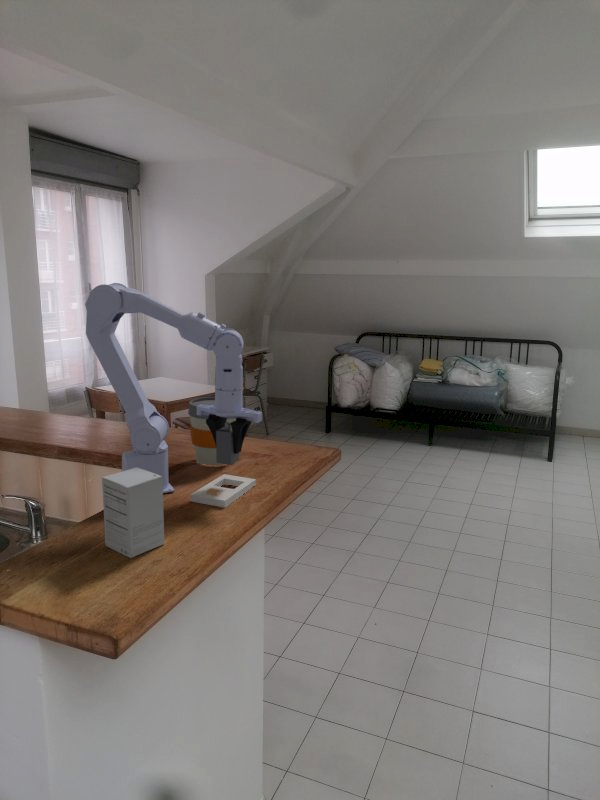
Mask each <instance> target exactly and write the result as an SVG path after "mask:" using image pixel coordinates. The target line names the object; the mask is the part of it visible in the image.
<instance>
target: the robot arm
mask: <svg viewBox="0 0 600 800" xmlns="http://www.w3.org/2000/svg"><path fill="white" fill-rule="evenodd" d="M84 306H85V310H86V318H85V319H86V321H85V335H86V338H87V340H88V342H89V344H90V346H91V348H92V350H93V351H94V353H95V356H96V358H97V360H98V361H99V363H100V365H101V367H102V369H103V371H104V373H105V375H106V377H107V379H108V380H109V382H110V384H111V386H112V388H113V390H114V392H115V395H116V396H117V398H118V400H119V402H120V405H121V406H122V407H123V410H124V411H125V420H126V421H125V422H126V423H125V424H126V425H127V429H128V431H129V434H130V435H129V441H130V444H131V446H132V449H130V450H129V451H124V452H122V454H121V472H122V471H126V470H129V469H132V468H135V467H137V468H140V469H143V470H146V471H149V472H152V473H155V474H157V475H160V476H162V481H163V494H166V493H172V492H175V489H174V487H173V486H172V484H171V483H170V482H169V448H168V447H169V445H168V444H167V442H166V440H165V438H167V436H168V433H169V431H170V425H169V422H168V420H167V419H166V418H165V416H163V415H161V414H160V413H159V411H157V408H156V407H155V405H154V404H153V403H151V402H150V401H149V400H148V397H147V396H146V393H145V392H144V390H143V388H142V386H141V384H140V382H139V379H138V377H137V376H136V374H135V372H134V370H133V368H132V366H131V364H130V362H129V360H128V358H127V355H126V354H125V352H124V350H123V348H122V347H121V346H122V345H121V344H120V342H119V340H118V338H117V336H116V330H117V327H118V325H119V323H120V321H121V319H122V317H123V316H124V315H125V314H137V313H138V314H139V313H140V314H143V315H146V316H148V317H150V318H153V319H155V320H157V321H159V322H162V323H164V324H166V325H168V326H171V327H173V328H174V329H177V330H178V334H179V335H180V337H181V338H182V339H183V340H186V341H188V342H190V343H192V344H195V345H196V346H199V348H203V349H205V350H207V351H213V354H214V356H215V367H214V397H215V405H199V406H197V415H208V416H209V417H208V419H206V424H207V425H208V427H209V429H210V431H211V433H212V435H213V438H214V441H215V445H216V431H217V430H219V429H221V428H223V427H225V423H226V420H227V418H231V419H236V421H233V422H231V428H232V432H233V450H234V453H235V454H238V453H239V454H240V453H241V452H242V448H243V443H244V440H245V437H246V434H247V432H248V431H249V428H250V426H251V425H252V422H253V423H254V424H255V423H256V424H258V423H260V422H262V421H263V412H262V411H258V410H253V409H249V408H245V407H243V404H244V403H243V401H244V400H243V391H244V390H243V388H244V387H243V385H244V384H243V383H244V373H243V371H244V366H243V365H242V364H243V357H242V356H243V355H242V352H243V349H244V343H245V342H244V339H243V337H242V335H241V334H240V333H239V332H238V331H237V330H235V329H234V328H227V325H226V324H224V323H221V324H219V323H216V322H215V321H212V320H210V319H208V318H207V317H205V316H206V314H205V313H203V312H202V311H201V312H198V313H197V312H195V311H192V312H188V313H187V314H184V313H183V312H181V311H178V310H176V309H174V308H172V307H171V306H169V305H167V304H165V303H163V302H162V301H160V300H158V299H156V298H154V297H152V296H151V295H148V294H146V293H145V292H143V291H140V290H138V289H136V288H133V287H127V286H126V285H124V284H122V283H117V282H113V283H110V284H109V283H108V284H99V285H97V286H95V287H94V288H93V289H92V290H91V291H90V292H89V294H88V297H87V299H86V301H85V302H84Z"/></svg>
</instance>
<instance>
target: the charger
mask: <svg viewBox="0 0 600 800" xmlns="http://www.w3.org/2000/svg"><path fill="white" fill-rule="evenodd" d="M216 458H217V463H221V464H227V466H233V465H234V464H235V463H238V462H239V461H240V452H239V453H238V454H235V453H234V450H233V432H232V428H231V423H230V422H226V423H225V427H223V428H221V429H219V430H217V431H216Z"/></svg>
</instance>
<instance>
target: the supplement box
mask: <svg viewBox="0 0 600 800" xmlns="http://www.w3.org/2000/svg"><path fill="white" fill-rule="evenodd" d="M101 484H102V485H101V487H102V502H103V521H104V522H103V524H104V541H105V544H104V545H105V546H106V547H107V548H110V549H111V550H113V551H115V552H117V553H120V554H121V555H122V556H125V557H128V558H129V559H132V558H135V557H136V556H139V555H142V554H144V553H146V552H148V551H150V550H153V549H155V548H158V547H161V546H163V545H164V544H165V520H164V519H165V517H164V516H165V515H164V493H163V481H162V476H160V475H157V474H155V473H152V472H149V471H146V470H143V469H140V468H137V467H135V468H132V469H129V470H126V471H122V470H121V471H119V472H116V473H113V474H109V475H105V476H102V477H101Z"/></svg>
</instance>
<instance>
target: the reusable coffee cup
mask: <svg viewBox="0 0 600 800" xmlns="http://www.w3.org/2000/svg"><path fill="white" fill-rule="evenodd" d="M199 405H215V396H207V397H206V396H204V397H203V396H202V397H198V398H194V399H191V400H189V402H188V416H189V418H190V419H189V420H190V423H189V431H190V437H191V439H190V440H191V444H192V445H193V447H194V448H193V449H194V455H195V460H196V461H197V462H199V463H202V464H206V465H222V464H221V463H217V458H216V445H215V441H214V438H213V435H212V433H211V431H210V429H209V427H208V425H207V424H206V419H208V417H209V416H208V415H197V406H199ZM233 421H236V419H231V418H227V420H226V422H230V423H231V422H233ZM196 461H195V462H196ZM197 462H196V463H197Z"/></svg>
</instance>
